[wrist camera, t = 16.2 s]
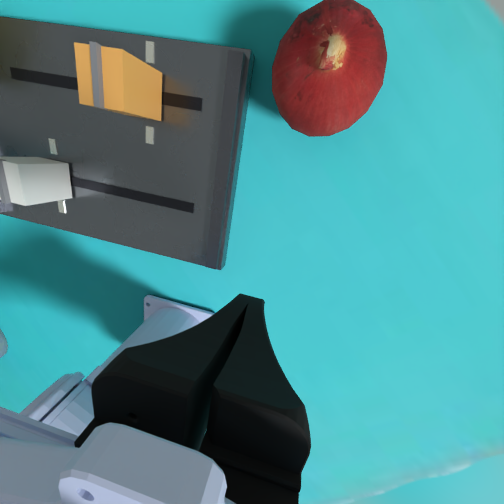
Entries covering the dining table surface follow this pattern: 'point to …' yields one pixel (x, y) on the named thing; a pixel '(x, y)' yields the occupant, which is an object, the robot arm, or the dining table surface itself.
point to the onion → (329, 67)
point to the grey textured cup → (3, 344)
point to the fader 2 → (117, 81)
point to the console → (129, 139)
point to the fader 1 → (33, 180)
